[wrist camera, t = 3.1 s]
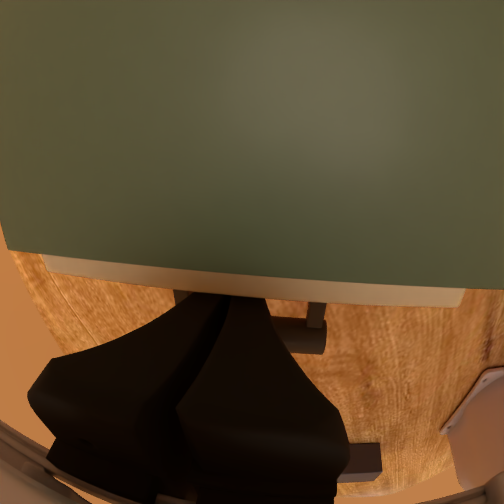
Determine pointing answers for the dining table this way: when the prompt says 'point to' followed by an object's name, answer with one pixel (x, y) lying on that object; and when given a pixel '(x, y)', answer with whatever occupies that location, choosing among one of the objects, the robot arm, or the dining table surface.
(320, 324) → the drawer
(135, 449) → the robot arm
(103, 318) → the dining table surface
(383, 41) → the cabinet
